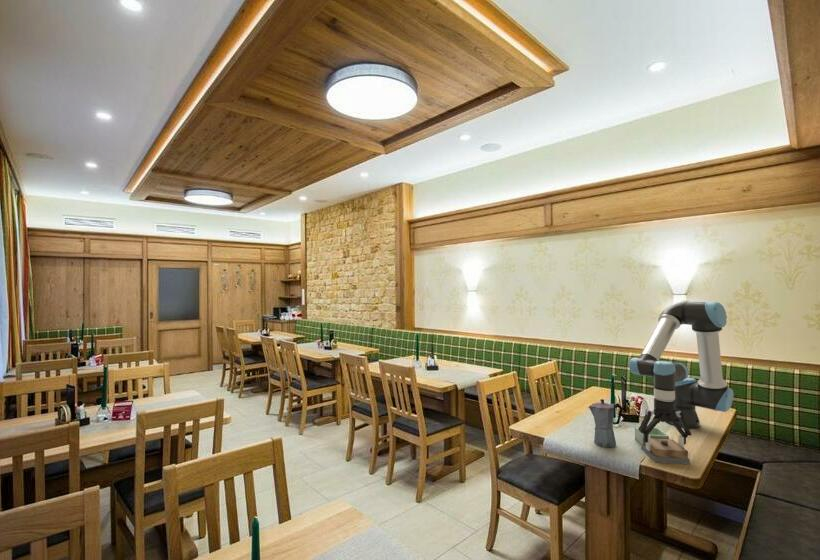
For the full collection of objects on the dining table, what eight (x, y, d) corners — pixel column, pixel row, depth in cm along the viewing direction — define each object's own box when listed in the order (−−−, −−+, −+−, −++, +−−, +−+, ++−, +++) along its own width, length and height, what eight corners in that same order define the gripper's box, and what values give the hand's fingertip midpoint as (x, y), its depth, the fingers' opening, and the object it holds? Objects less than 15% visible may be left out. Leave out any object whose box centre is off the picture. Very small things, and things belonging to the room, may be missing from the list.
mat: (673, 450, 172) (673, 446, 172) (689, 464, 159) (689, 459, 159) (641, 448, 174) (641, 444, 174) (654, 462, 161) (654, 457, 161)
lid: (672, 446, 172) (672, 436, 172) (687, 458, 160) (687, 447, 160) (642, 444, 174) (642, 434, 174) (655, 456, 162) (655, 445, 162)
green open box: (658, 440, 183) (658, 427, 183) (669, 450, 173) (669, 436, 173) (634, 439, 184) (634, 426, 184) (644, 448, 174) (644, 434, 174)
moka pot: (583, 440, 184) (583, 396, 184) (615, 439, 185) (615, 395, 185) (594, 448, 174) (594, 402, 174) (628, 447, 175) (628, 402, 175)
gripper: (691, 397, 169) (691, 448, 169) (629, 395, 172) (629, 445, 172) (701, 402, 161) (701, 456, 161) (637, 400, 165) (637, 452, 165)
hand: (664, 450), depth 167 cm, fingers closed on lid, 12 cm apart
